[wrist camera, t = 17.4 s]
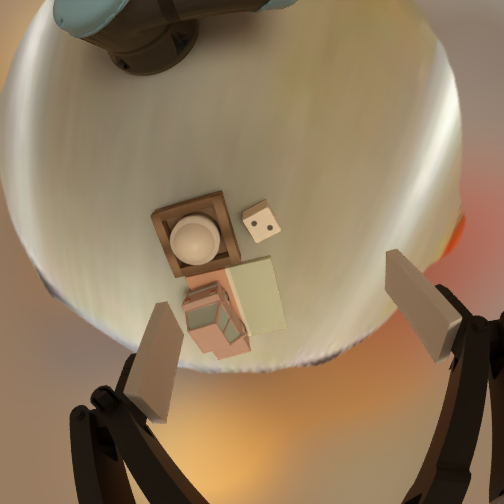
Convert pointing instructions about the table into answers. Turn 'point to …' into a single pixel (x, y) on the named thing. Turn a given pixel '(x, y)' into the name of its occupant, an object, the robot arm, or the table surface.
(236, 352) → the toy car
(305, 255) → the table surface
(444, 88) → the table surface
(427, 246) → the table surface
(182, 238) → the dome
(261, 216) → the die
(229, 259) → the dome housing
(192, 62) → the table surface
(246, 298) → the board
